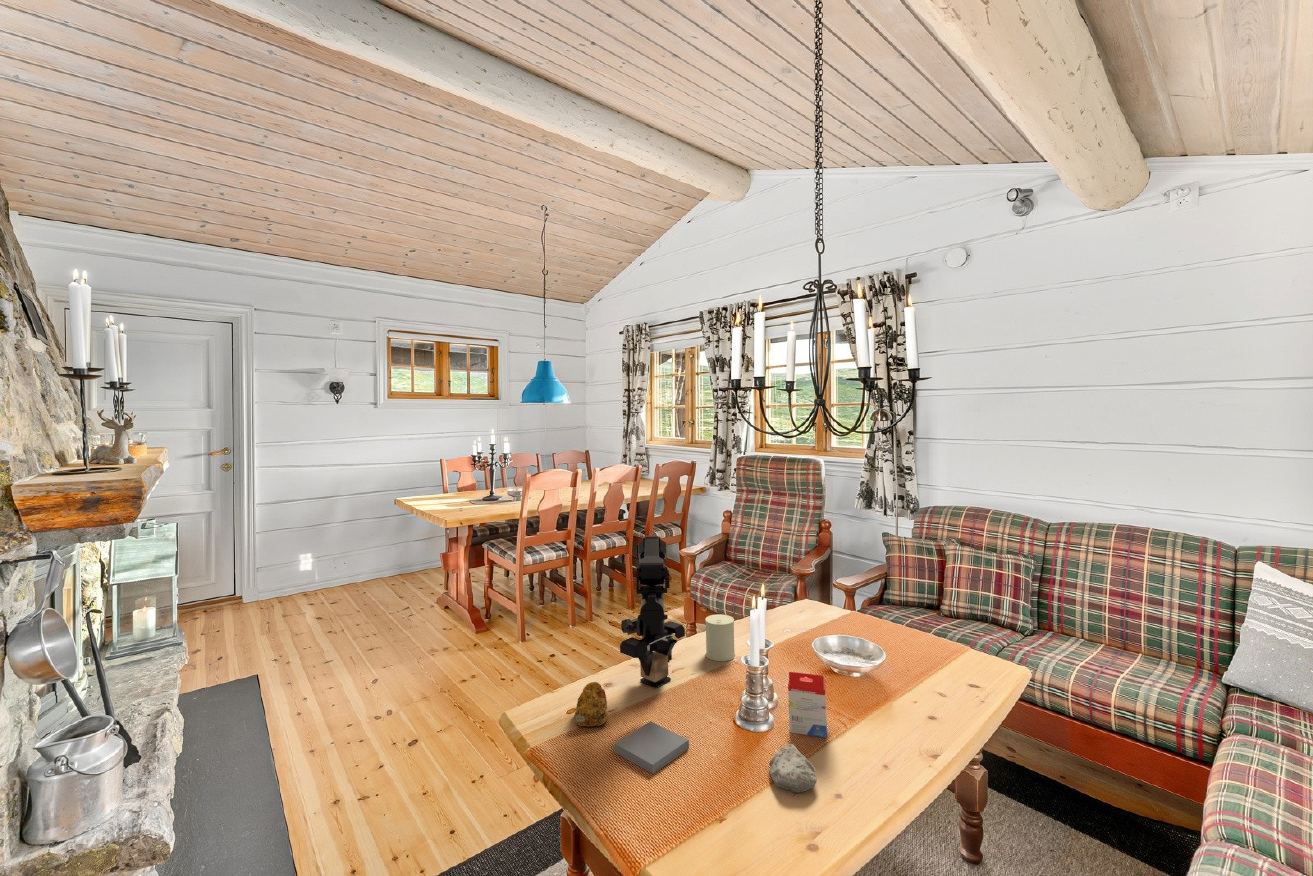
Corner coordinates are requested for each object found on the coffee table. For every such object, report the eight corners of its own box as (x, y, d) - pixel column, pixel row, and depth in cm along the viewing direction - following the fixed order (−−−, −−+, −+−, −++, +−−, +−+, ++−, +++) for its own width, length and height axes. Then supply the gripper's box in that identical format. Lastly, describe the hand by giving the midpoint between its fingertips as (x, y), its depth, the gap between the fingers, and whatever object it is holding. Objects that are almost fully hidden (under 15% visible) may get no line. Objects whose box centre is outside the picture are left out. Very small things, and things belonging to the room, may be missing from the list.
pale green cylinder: (704, 660, 170) (703, 622, 170) (707, 648, 179) (706, 612, 179) (734, 662, 169) (733, 623, 168) (735, 649, 178) (734, 613, 178)
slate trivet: (650, 729, 133) (650, 721, 133) (689, 748, 125) (688, 739, 125) (614, 752, 124) (614, 743, 124) (653, 774, 116) (652, 764, 116)
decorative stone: (832, 788, 110) (832, 764, 110) (788, 804, 106) (787, 779, 106) (794, 755, 122) (794, 732, 121) (753, 768, 117) (752, 745, 117)
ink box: (827, 727, 132) (826, 667, 131) (826, 739, 127) (825, 676, 127) (790, 722, 135) (789, 663, 134) (788, 733, 130) (787, 671, 130)
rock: (612, 732, 140) (608, 719, 132) (580, 740, 138) (574, 728, 131) (605, 688, 147) (601, 673, 140) (574, 696, 146) (568, 681, 139)
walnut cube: (654, 669, 143) (653, 650, 143) (668, 675, 140) (667, 656, 140) (640, 676, 140) (640, 657, 139) (655, 682, 136) (654, 662, 136)
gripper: (654, 595, 152) (655, 651, 152) (604, 614, 138) (605, 675, 138) (685, 604, 144) (687, 662, 144) (635, 624, 130) (637, 689, 131)
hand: (654, 671), depth 140 cm, fingers closed on walnut cube, 5 cm apart
